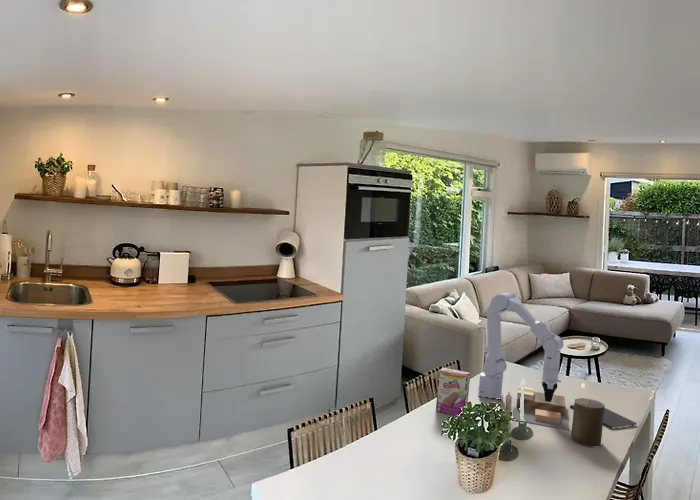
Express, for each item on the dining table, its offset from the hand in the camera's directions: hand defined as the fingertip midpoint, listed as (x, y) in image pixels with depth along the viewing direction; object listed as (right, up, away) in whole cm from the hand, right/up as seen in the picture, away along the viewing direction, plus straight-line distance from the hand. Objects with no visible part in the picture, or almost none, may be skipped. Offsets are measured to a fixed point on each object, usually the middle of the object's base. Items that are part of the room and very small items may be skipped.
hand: (548, 401), depth 212 cm
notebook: (+21, -7, 0) cm, 22 cm away
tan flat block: (-1, -4, +6) cm, 7 cm away
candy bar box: (-39, -3, -5) cm, 39 cm away
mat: (-5, -5, -6) cm, 9 cm away
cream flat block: (-7, 0, +7) cm, 10 cm away
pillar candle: (+5, -8, -23) cm, 25 cm away
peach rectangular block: (-2, -3, -6) cm, 7 cm away
